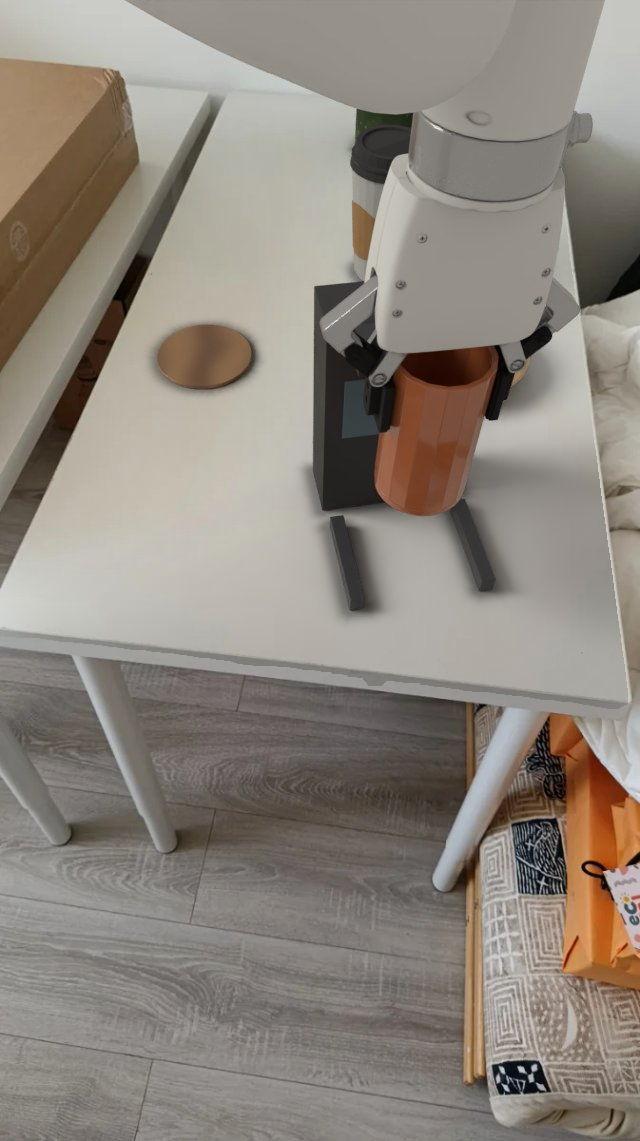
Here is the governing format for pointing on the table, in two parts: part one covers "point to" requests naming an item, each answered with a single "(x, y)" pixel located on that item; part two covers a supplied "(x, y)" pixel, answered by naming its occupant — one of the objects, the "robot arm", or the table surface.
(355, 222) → the coffee cup
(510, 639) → the table surface
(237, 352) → the coaster
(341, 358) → the black box with legs
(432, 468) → the orange tube
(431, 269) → the robot arm
